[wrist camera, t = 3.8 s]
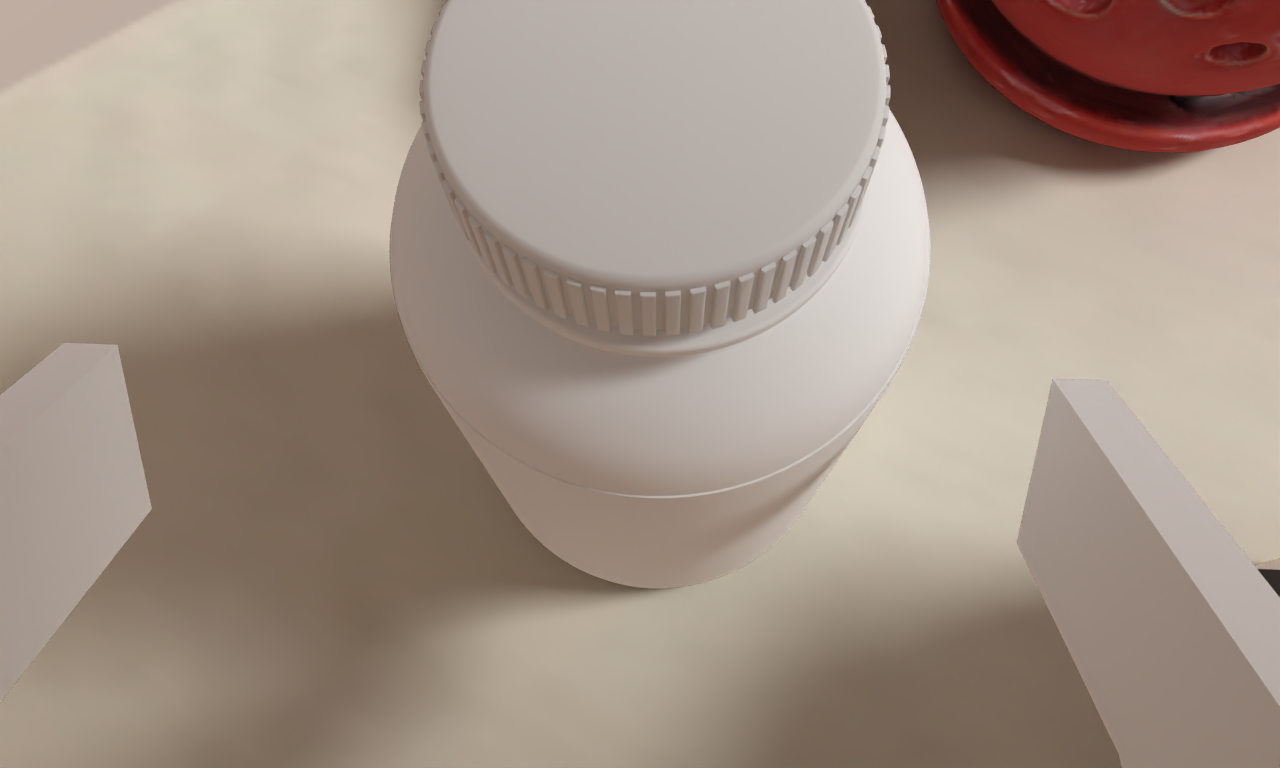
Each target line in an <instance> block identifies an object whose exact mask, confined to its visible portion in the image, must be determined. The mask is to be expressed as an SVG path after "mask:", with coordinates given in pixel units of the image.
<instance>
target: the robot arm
mask: <svg viewBox="0 0 1280 768" xmlns="http://www.w3.org/2000/svg"><path fill="white" fill-rule="evenodd" d="M151 509H152V508H151V503H150V498H149V493H148V488H147V484H146V479H145V474H144V469H143V464H142V460H141V455H140V450H139V445H138V440H137V436H136V431H135V426H134V421H133V416H132V412H131V407H130V402H129V397H128V392H127V388H126V383H125V378H124V373H123V369H122V364H121V359H120V354H119V349H118V345H115V344H88V343H63V344H61V345H60V346H59V347H58V348H57V349H55V350H54V351H53V352H52V353H50V354H49V355H48V356H47V357H46V358H44V359H43V360H42V361H41V362H40V363H38V364H37V365H36V366H35V367H34V368H32V369H31V370H30V371H29V372H27V373H26V374H25V375H24V376H23V377H21V378H20V379H19V380H18V381H17V382H15V383H14V384H13V385H12V386H10V387H9V388H8V389H7V390H6V391H4V392H3V393H2V394H1V395H0V703H1V701H2V700H3V699H4V697H5V696H6V695H7V694H8V692H9V691H10V690H11V688H12V687H13V686H14V685H15V683H16V682H17V681H18V680H19V678H20V677H21V676H22V674H23V673H24V672H25V671H26V669H27V668H28V667H29V665H30V664H31V663H32V662H33V660H34V659H35V658H36V656H37V655H38V654H39V653H40V651H41V650H42V649H43V648H44V646H45V645H46V644H47V642H48V641H49V640H50V639H51V637H52V636H53V635H54V633H55V632H56V631H57V630H58V628H59V627H60V626H61V625H62V623H63V622H64V621H65V619H66V618H67V617H68V616H69V614H70V613H71V612H72V610H73V609H74V608H75V607H76V605H77V604H78V603H79V601H80V600H81V599H82V598H83V596H84V595H85V594H86V593H87V591H88V590H89V589H90V587H91V586H92V585H93V584H94V582H95V581H96V580H97V578H98V577H99V576H100V575H101V573H102V572H103V571H104V570H105V568H106V567H107V566H108V564H109V563H110V562H111V561H112V559H113V558H114V557H115V555H116V554H117V553H118V552H119V550H120V549H121V548H122V546H123V545H124V544H125V543H126V541H127V540H128V539H129V538H130V536H131V535H132V534H133V532H134V531H135V530H136V529H137V527H138V526H139V525H140V523H141V522H142V521H143V520H144V518H145V517H146V516H147V515H148V513H149V512H150V511H151ZM1017 544H1018V546H1019V549H1020V551H1021V553H1022V555H1023V557H1024V559H1025V561H1026V563H1027V565H1028V567H1029V569H1030V571H1031V573H1032V576H1033V578H1034V580H1035V582H1036V584H1037V586H1038V588H1039V590H1040V592H1041V594H1042V596H1043V598H1044V600H1045V603H1046V605H1047V607H1048V609H1049V611H1050V613H1051V615H1052V617H1053V619H1054V621H1055V623H1056V625H1057V627H1058V630H1059V632H1060V634H1061V636H1062V638H1063V640H1064V642H1065V644H1066V646H1067V648H1068V650H1069V652H1070V654H1071V657H1072V659H1073V661H1074V663H1075V665H1076V667H1077V669H1078V671H1079V673H1080V675H1081V677H1082V679H1083V681H1084V684H1085V686H1086V688H1087V690H1088V692H1089V694H1090V696H1091V698H1092V700H1093V702H1094V704H1095V706H1096V708H1097V711H1098V713H1099V715H1100V717H1101V719H1102V721H1103V723H1104V725H1105V727H1106V729H1107V731H1108V733H1109V735H1110V738H1111V740H1112V742H1113V744H1114V746H1115V748H1116V750H1117V752H1118V754H1119V756H1120V758H1121V760H1122V762H1123V765H1124V767H1125V768H1280V570H1273V569H1257V568H1256V567H1255V566H1254V564H1253V563H1252V562H1251V561H1250V559H1249V558H1248V557H1247V556H1246V554H1245V553H1244V552H1243V551H1242V549H1241V548H1240V547H1239V545H1238V544H1237V543H1236V542H1235V540H1234V539H1233V538H1232V537H1231V535H1230V534H1229V533H1228V532H1227V530H1226V529H1225V528H1224V527H1223V525H1222V524H1221V523H1220V522H1219V520H1218V519H1217V518H1216V516H1215V515H1214V514H1213V513H1212V511H1211V510H1210V509H1209V508H1208V506H1207V505H1206V504H1205V503H1204V501H1203V500H1202V499H1201V498H1200V496H1199V495H1198V494H1197V492H1196V491H1195V490H1194V489H1193V487H1192V486H1191V485H1190V484H1189V482H1188V481H1187V480H1186V479H1185V477H1184V476H1183V475H1182V474H1181V472H1180V471H1179V470H1178V469H1177V467H1176V466H1175V465H1174V463H1173V462H1172V461H1171V460H1170V458H1169V457H1168V456H1167V455H1166V453H1165V452H1164V451H1163V450H1162V448H1161V447H1160V446H1159V445H1158V443H1157V442H1156V441H1155V440H1154V438H1153V437H1152V436H1151V434H1150V433H1149V432H1148V431H1147V429H1146V428H1145V427H1144V426H1143V424H1142V423H1141V422H1140V421H1139V419H1138V418H1137V417H1136V416H1135V414H1134V413H1133V412H1132V410H1131V409H1130V408H1129V407H1128V405H1127V404H1126V403H1125V402H1124V400H1123V399H1122V398H1121V397H1120V395H1119V394H1118V393H1117V392H1116V390H1115V389H1114V388H1113V387H1112V385H1111V384H1110V383H1109V381H1102V380H1074V379H1052V384H1051V388H1050V393H1049V397H1048V402H1047V406H1046V411H1045V416H1044V420H1043V425H1042V429H1041V434H1040V438H1039V443H1038V448H1037V452H1036V457H1035V461H1034V466H1033V470H1032V475H1031V479H1030V484H1029V489H1028V493H1027V498H1026V502H1025V507H1024V511H1023V516H1022V521H1021V525H1020V530H1019V534H1018V539H1017Z"/></svg>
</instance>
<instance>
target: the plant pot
mask: <svg viewBox="0 0 1280 768" xmlns="http://www.w3.org/2000/svg"><path fill="white" fill-rule="evenodd" d="M936 3H937V5H938V8H939V11H940V13H941V15H942V17H943V20H944V22H945V24H946V26H947V28H948V30H949V31H950V33H951V35H952V37H953V39H954V40H955V42H956V44H957V45H958V47H959V48H960V50H961V51H962V52H963V54H964V55H965V56H966V58H967V59H968V60H969V62H970V63H971V64H972V65H973V66H974V68H975V69H976V70H977V71H978V72H979V73H980V74H981V75H982V76H983V77H984V78H985V79H986V80H987V81H988V82H989V83H990V84H991V85H992V86H993V87H995V88H996V89H997V90H998V91H999V92H1000V93H1002V94H1003V95H1004V96H1005V97H1006V98H1008V99H1009V100H1010V101H1011V102H1012V103H1014V104H1015V105H1016V106H1018V107H1019V108H1021V109H1022V110H1024V111H1026V112H1028V113H1029V114H1031V115H1033V116H1034V117H1036V118H1038V119H1039V120H1041V121H1043V122H1045V123H1047V124H1049V125H1051V126H1053V127H1055V128H1057V129H1059V130H1061V131H1064V132H1066V133H1069V134H1071V135H1074V136H1077V137H1080V138H1083V139H1086V140H1088V141H1091V142H1095V143H1099V144H1103V145H1107V146H1112V147H1117V148H1123V149H1130V150H1137V151H1148V152H1193V151H1203V150H1208V149H1214V148H1219V147H1225V146H1229V145H1233V144H1237V143H1241V142H1244V141H1247V140H1250V139H1253V138H1256V137H1259V136H1261V135H1264V134H1266V133H1269V132H1271V131H1273V130H1275V129H1277V128H1279V127H1280V0H936Z"/></svg>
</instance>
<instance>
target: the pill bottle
mask: <svg viewBox="0 0 1280 768" xmlns="http://www.w3.org/2000/svg"><path fill="white" fill-rule="evenodd" d="M439 15H440V16H439V18H438V20H437V21H436V22H435V24H434V26H433V29H432V31H431V34H432V37H431V40H429V41H428V43H427V46H426V50H425V54H426V60H424V61H423V63H422V69H421V73H422V76H423V79H424V80H421V81H420V95H421V98H422V100H423V101H420V113H421V116H422V119H423V122H422V125H421V127H420V129H419V131H418V133H417V135H416V137H415V139H414V141H413V143H412V145H411V148H410V150H409V153H408V155H407V158H406V161H405V163H404V166H403V169H402V172H401V176H400V179H399V183H398V187H397V192H396V196H395V202H394V208H393V215H392V222H391V231H390V271H391V280H392V287H393V293H394V298H395V303H396V307H397V310H398V314H399V317H400V321H401V324H402V327H403V329H404V332H405V335H406V337H407V340H408V342H409V345H410V347H411V349H412V352H413V354H414V356H415V358H416V360H417V362H418V364H419V366H420V368H421V370H422V371H423V373H424V375H425V377H426V378H427V380H428V382H429V383H430V385H431V387H432V388H433V390H434V391H435V393H436V394H437V396H438V397H439V399H440V400H441V402H442V403H443V405H444V406H445V408H446V409H447V411H448V413H449V414H450V416H451V417H452V419H453V420H454V422H455V423H456V425H457V426H458V428H459V429H460V431H461V432H462V434H463V435H464V437H465V438H466V440H467V441H468V443H469V444H470V446H471V447H472V449H473V450H474V452H475V453H476V455H477V456H478V458H479V459H480V461H481V462H482V464H483V465H484V467H485V468H486V470H487V471H488V473H489V474H490V476H491V478H492V479H493V481H494V482H495V484H496V485H497V487H498V488H499V490H500V491H501V493H502V494H503V496H504V497H505V499H506V500H507V502H508V503H509V505H510V506H511V508H512V509H513V511H514V512H515V514H516V515H517V517H518V518H519V519H520V521H521V522H522V523H523V524H524V526H525V527H526V528H527V529H528V530H529V531H530V533H531V534H532V535H533V536H534V537H535V538H536V539H537V540H538V541H539V542H540V543H542V544H543V545H544V546H545V547H546V548H547V549H549V550H550V551H551V552H552V553H554V554H555V555H556V556H558V557H559V558H561V559H562V560H564V561H565V562H567V563H569V564H570V565H572V566H574V567H576V568H578V569H580V570H582V571H584V572H586V573H588V574H591V575H593V576H596V577H598V578H601V579H604V580H607V581H610V582H614V583H618V584H622V585H627V586H633V587H640V588H677V587H684V586H690V585H695V584H699V583H703V582H707V581H710V580H713V579H716V578H719V577H721V576H724V575H726V574H729V573H731V572H733V571H735V570H737V569H739V568H741V567H743V566H745V565H747V564H748V563H750V562H752V561H753V560H755V559H756V558H758V557H759V556H761V555H762V554H763V553H765V552H766V551H767V550H768V549H770V548H771V547H772V546H773V545H774V544H775V543H777V542H778V541H779V540H780V539H781V538H782V537H783V536H784V535H785V534H786V532H787V531H788V530H789V529H790V528H791V527H792V526H793V524H794V523H795V522H796V521H797V519H798V518H799V516H800V515H801V514H802V512H803V511H804V509H805V508H806V506H807V505H808V503H809V502H810V500H811V499H812V497H813V496H814V495H815V493H816V492H817V490H818V489H819V487H820V486H821V484H822V483H823V481H824V480H825V478H826V477H827V476H828V474H829V473H830V471H831V470H832V468H833V467H834V465H835V464H836V462H837V461H838V459H839V458H840V457H841V455H842V454H843V452H844V451H845V449H846V448H847V446H848V445H849V443H850V442H851V440H852V439H853V438H854V436H855V435H856V433H857V432H858V430H859V429H860V427H861V426H862V424H863V423H864V421H865V420H866V419H867V417H868V416H869V414H870V413H871V411H872V410H873V408H874V407H875V405H876V404H877V402H878V401H879V400H880V398H881V397H882V395H883V394H884V392H885V391H886V389H887V387H888V386H889V384H890V383H891V381H892V379H893V378H894V376H895V374H896V373H897V371H898V369H899V367H900V365H901V363H902V361H903V359H904V357H905V355H906V353H907V351H908V349H909V347H910V344H911V342H912V340H913V337H914V334H915V332H916V329H917V326H918V323H919V320H920V317H921V314H922V310H923V306H924V302H925V298H926V293H927V287H928V281H929V272H930V230H929V221H928V213H927V206H926V200H925V195H924V190H923V186H922V182H921V178H920V174H919V171H918V168H917V165H916V162H915V159H914V157H913V154H912V151H911V149H910V147H909V144H908V142H907V140H906V138H905V136H904V134H903V132H902V130H901V128H900V126H899V124H898V122H897V121H896V119H895V117H894V115H893V114H892V112H891V111H890V107H889V106H888V103H889V100H890V85H887V84H888V81H889V78H890V72H889V65H885V62H886V58H887V53H886V49H885V45H883V44H881V38H882V35H881V32H880V29H879V26H878V25H876V24H875V22H874V18H875V17H874V15H873V13H872V11H871V8H870V7H869V6H867V4H866V2H865V0H447V2H446V3H445V4H444V5H443V7H442V9H441V11H440V13H439Z"/></svg>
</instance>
